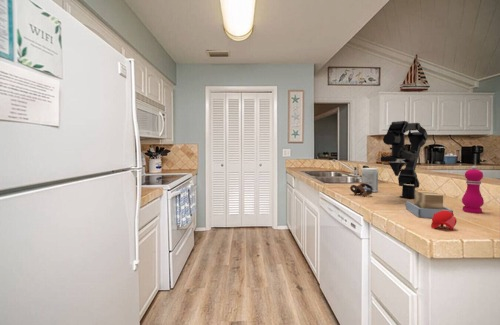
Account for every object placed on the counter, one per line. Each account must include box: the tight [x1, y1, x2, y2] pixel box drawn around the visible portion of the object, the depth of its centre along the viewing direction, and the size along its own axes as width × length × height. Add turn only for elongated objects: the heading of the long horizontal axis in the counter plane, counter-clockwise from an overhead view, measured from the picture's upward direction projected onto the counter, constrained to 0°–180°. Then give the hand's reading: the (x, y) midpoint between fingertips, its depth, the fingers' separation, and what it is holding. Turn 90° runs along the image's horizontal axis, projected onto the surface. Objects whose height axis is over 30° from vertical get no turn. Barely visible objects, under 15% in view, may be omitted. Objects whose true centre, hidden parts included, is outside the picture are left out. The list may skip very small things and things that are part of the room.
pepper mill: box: [461, 165, 485, 214], centre depth 111 cm, size 7×7×20 cm
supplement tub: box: [361, 167, 379, 193], centre depth 163 cm, size 10×10×15 cm
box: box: [405, 200, 454, 219], centre depth 108 cm, size 16×12×4 cm
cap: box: [430, 210, 457, 231], centre depth 89 cm, size 8×6×6 cm
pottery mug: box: [349, 182, 373, 198], centre depth 150 cm, size 12×10×8 cm
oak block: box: [413, 189, 444, 210], centre depth 108 cm, size 12×6×9 cm, turn 165°
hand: (396, 175), depth 133 cm, fingers closed
